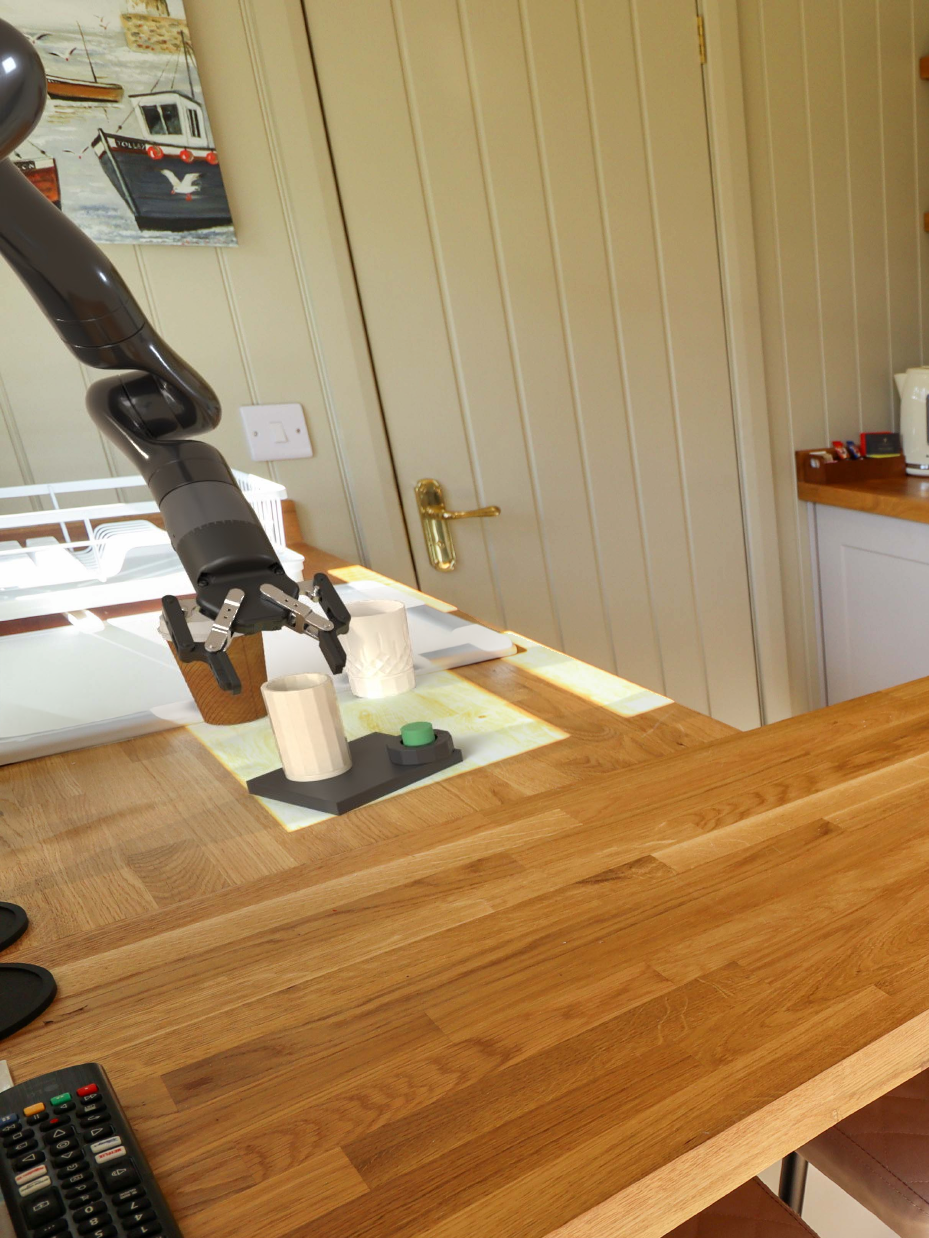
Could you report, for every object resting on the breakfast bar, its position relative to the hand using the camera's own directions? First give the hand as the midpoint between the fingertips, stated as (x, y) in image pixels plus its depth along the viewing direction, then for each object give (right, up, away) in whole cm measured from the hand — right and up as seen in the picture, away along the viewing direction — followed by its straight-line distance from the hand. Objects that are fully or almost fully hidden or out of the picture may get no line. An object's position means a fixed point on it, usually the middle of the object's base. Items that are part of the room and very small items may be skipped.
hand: (289, 680), depth 103 cm
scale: (+4, -9, +4) cm, 11 cm away
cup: (+2, -9, +2) cm, 9 cm away
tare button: (+9, -6, +6) cm, 12 cm away
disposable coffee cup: (-18, -3, +19) cm, 26 cm away
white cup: (-7, +1, +27) cm, 28 cm away
